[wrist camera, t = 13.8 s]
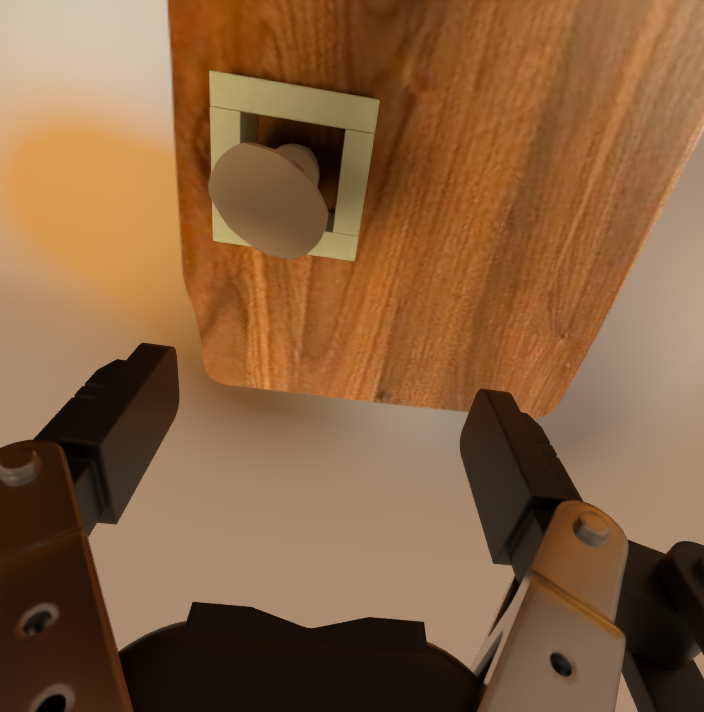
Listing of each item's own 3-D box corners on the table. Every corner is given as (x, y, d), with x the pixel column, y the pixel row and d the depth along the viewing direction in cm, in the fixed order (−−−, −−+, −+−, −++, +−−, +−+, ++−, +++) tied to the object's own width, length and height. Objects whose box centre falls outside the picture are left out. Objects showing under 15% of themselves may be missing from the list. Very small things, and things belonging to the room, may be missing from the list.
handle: (312, 213, 37) (290, 275, 25) (250, 161, 35) (192, 200, 22) (347, 168, 35) (344, 210, 23) (285, 110, 33) (242, 121, 20)
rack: (231, 73, 32) (208, 69, 27) (375, 98, 33) (380, 99, 28) (231, 221, 38) (212, 241, 33) (354, 239, 38) (354, 261, 33)
